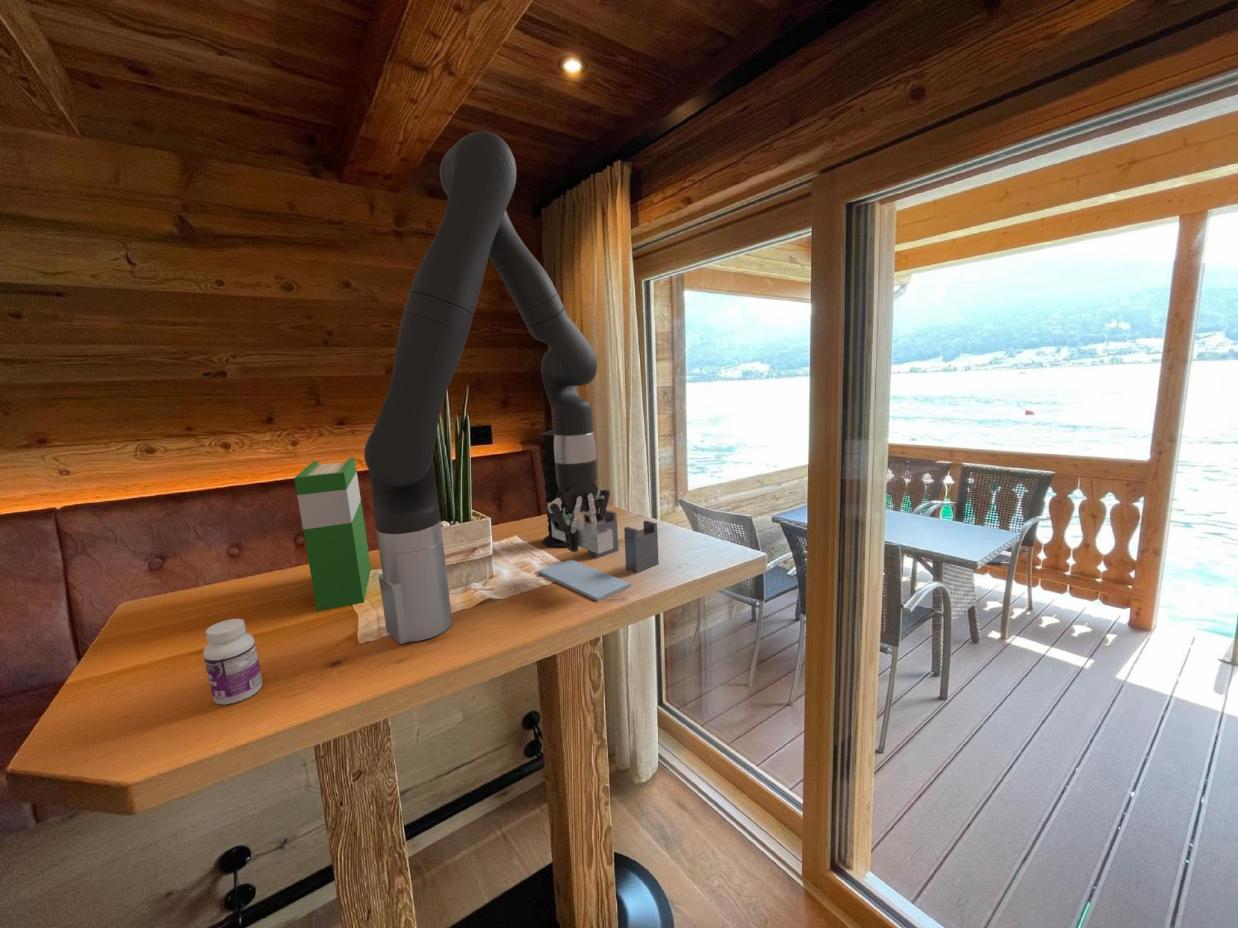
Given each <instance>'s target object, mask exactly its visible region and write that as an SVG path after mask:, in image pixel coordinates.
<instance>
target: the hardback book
mask: <svg viewBox="0 0 1238 928" xmlns="http://www.w3.org/2000/svg"><path fill="white" fill-rule="evenodd" d="M294 484H295V491H296V496H297V501H298V507H299V508H298V509H299V513H300V514H299V515H300V518H301V519H300V520H301V525H302V531H303V536H304V537H303V538H304V543H305V548H306V554H307V560H308V567H309V571H310V576H311V577H310V578H311V583H312V588H313V589H312V590H313V593H314V600H315V606H316V612H319V611H326V610H331V609H336V608H342V607H343V608H344V607H347V606H352V605H359V604H362V603H365V598H366V594H367V588H368V584H369V580H370V576H369V575H371V571H372V566H371V561H370V560H371V559H370V553H369V546H368V539H367V538H368V537H367V533H366V525H365V519H364V512H363V505H362V499H361V493H360V485H359V484H360V483H359V477H358V472H357V463H356V458H355V456H353V457H349V458H348V459H347V460H346V461H341V462H333V463H332V462H330V463H320V462H319V460H314V461H312V462H311V463H310V464H308V465H307V466H306V467H305V468H304V469H302V470H301V471H300V472H299V473H298V474H297V475H296V476H295V477H294ZM358 603H359V604H358Z"/></svg>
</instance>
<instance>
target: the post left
mask: <svg viewBox="0 0 1238 928" xmlns="http://www.w3.org/2000/svg"><path fill="white" fill-rule="evenodd" d="M617 517H618V516H617V512H615V511H614V510H613V511H612V510H609V509H606V512H605V517H604V520H603V521H599V522H598V523H597V525H599V526H602V527H605V528H609V529H612V533H613V548H612V549H610V550H607V551H604V552H602V553H599V554H598V553H595V552H593V551H590V550H587V555H588V556H590V557H592V558H595V559H599V558H602V557H604V556H606V555H609V554H612V553H614V552H617V551H619V537H618V536H619V535H618V519H617Z"/></svg>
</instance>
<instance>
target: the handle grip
mask: <svg viewBox="0 0 1238 928" xmlns="http://www.w3.org/2000/svg"><path fill="white" fill-rule="evenodd" d="M554 435H555V434H554V428H553V429H551V430H547V431H545V432H542V433H540V437H541V440H542V441H541V449H542V453H541V454H543V456H542V463H543V468H544V470H543V476H544V479H543V481H544V483H545V484H544V491H545V496H546V497H545V503H546V502H552V501H554V500H555V499H556V498H557V494H558V491H559V487H558V484H557V481H556V468H555V455H554ZM561 508H562V511H561V513H562V515H563V508H564V507H563V506H562V504H561ZM570 514H571V515H573V513H570ZM546 517H547V521H546V522H547V523H548V527H547V530H548V535H547V536H545V537H544V538H543V540H542V542H541V543H542V545H543V546H544V547H547V548H551V549H568V548H567V547H566V542H565V541H562V540H560V539H557V538H554V537H552V526H551V518H550V516H549V514H548V512H547V511H546Z"/></svg>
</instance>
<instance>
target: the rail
mask: <svg viewBox="0 0 1238 928" xmlns="http://www.w3.org/2000/svg"><path fill="white" fill-rule="evenodd" d="M551 526H552V537H554V538H557V539H560V540H562V541H565V542H566V539H565V532H562V531H559V530H556V529H555V527H554V525H553V523H552V521H551ZM576 533H577V543H578V548H582V549H585V550H587V551H588V550H590V551H593V552H595V553H598V554H599V553H602V552H604V551H607V550H610V549H612V548H613V533H612V529H609V528H605V527H602V526H599V525H596V524H592V523H589V522H586V521H584V520H582V519H579V520H578V521H577V527H576Z"/></svg>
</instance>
